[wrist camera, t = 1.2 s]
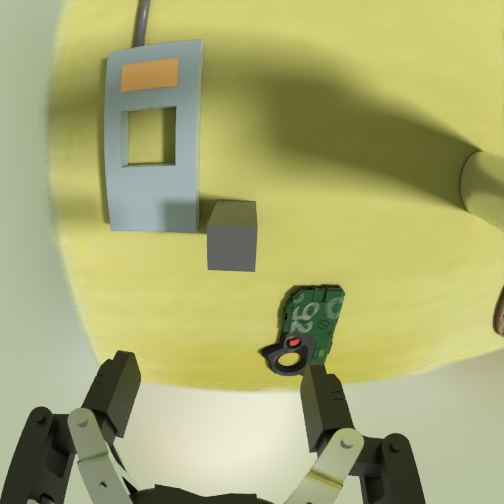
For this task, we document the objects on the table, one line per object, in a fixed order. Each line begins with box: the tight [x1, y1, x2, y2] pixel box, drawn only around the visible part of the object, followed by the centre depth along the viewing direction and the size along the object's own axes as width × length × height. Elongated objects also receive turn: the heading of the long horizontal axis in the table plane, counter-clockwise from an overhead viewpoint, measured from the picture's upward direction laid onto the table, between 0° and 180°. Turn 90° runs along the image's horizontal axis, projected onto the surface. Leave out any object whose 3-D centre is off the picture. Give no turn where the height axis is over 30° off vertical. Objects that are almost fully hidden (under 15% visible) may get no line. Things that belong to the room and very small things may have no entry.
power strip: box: [104, 0, 204, 233], centre depth 22 cm, size 10×33×2 cm, turn 177°
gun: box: [262, 285, 345, 376], centre depth 37 cm, size 16×1×10 cm
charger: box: [207, 200, 257, 272], centre depth 26 cm, size 4×4×8 cm
